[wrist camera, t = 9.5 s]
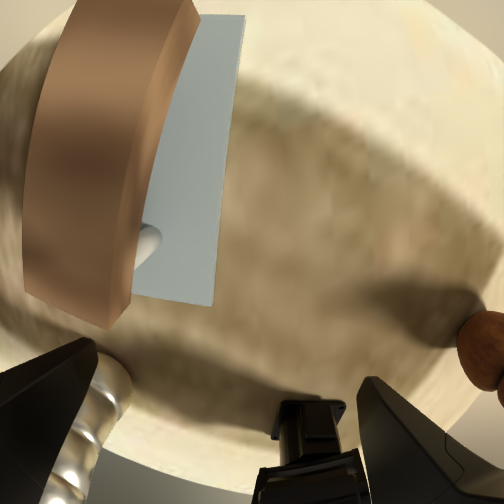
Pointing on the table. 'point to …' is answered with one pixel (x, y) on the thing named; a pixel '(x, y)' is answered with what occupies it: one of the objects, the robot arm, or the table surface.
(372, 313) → the table surface
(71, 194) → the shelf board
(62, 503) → the plastic bottle
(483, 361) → the wooden figurine
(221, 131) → the peg stand
